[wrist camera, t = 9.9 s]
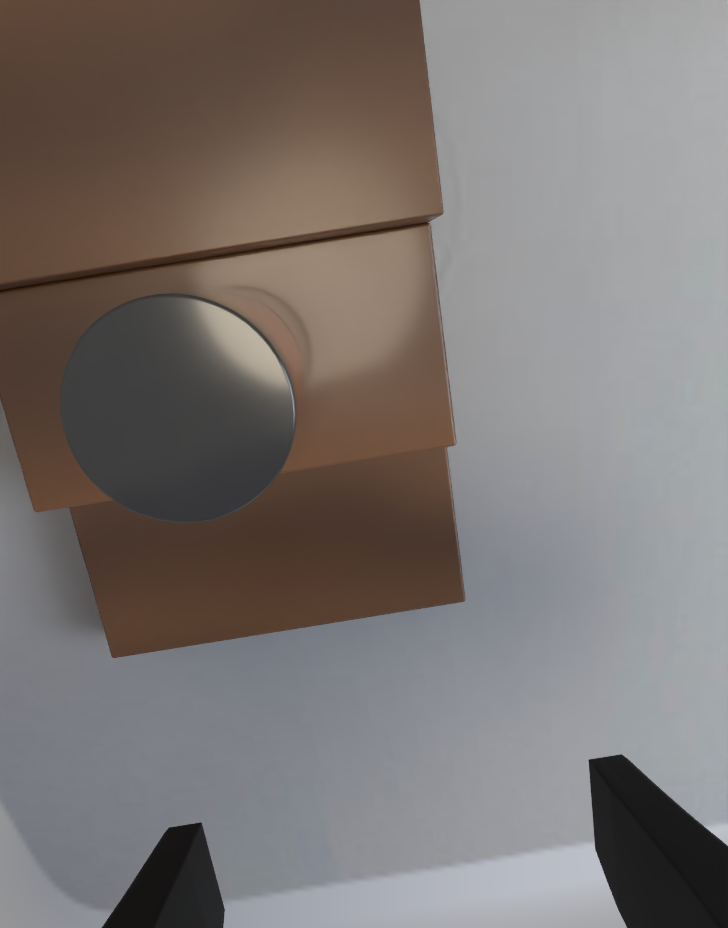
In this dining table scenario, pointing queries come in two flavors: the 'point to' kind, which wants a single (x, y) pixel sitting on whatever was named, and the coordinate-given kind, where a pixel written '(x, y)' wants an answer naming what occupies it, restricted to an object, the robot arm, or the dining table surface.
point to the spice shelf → (237, 289)
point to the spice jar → (183, 403)
